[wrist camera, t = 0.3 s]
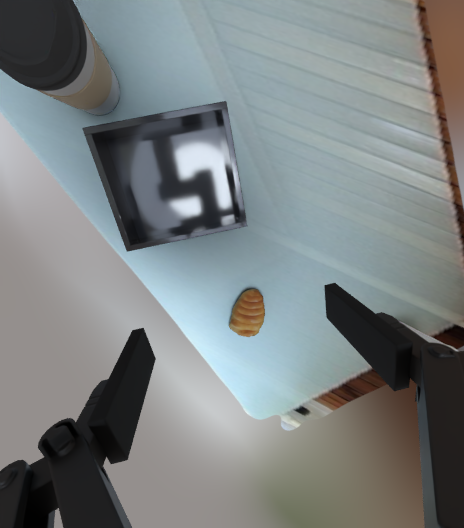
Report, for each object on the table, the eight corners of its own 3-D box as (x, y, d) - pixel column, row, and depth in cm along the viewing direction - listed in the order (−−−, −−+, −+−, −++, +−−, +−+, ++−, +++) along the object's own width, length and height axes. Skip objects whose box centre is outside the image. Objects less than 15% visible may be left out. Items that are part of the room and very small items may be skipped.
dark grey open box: (102, 137, 35) (82, 127, 29) (222, 114, 36) (226, 100, 30) (137, 242, 40) (126, 251, 35) (241, 220, 41) (247, 226, 36)
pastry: (235, 285, 45) (238, 293, 41) (268, 288, 46) (274, 297, 43) (227, 326, 48) (229, 338, 44) (258, 329, 49) (263, 340, 45)
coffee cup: (53, 105, 33) (-60, 44, 19) (67, 32, 31) (-50, -99, 17) (118, 134, 35) (60, 99, 21) (135, 68, 33) (83, -21, 19)
